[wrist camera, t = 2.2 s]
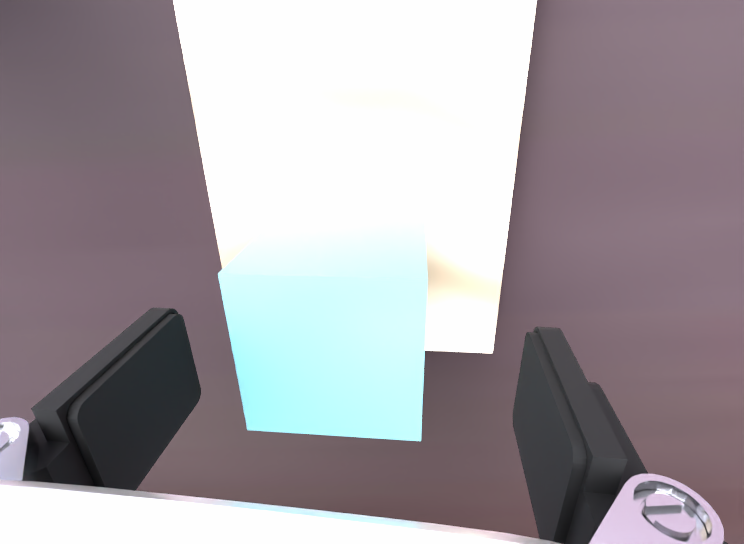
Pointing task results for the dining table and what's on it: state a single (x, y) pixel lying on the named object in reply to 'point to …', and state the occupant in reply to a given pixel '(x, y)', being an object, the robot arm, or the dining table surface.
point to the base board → (368, 127)
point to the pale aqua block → (331, 321)
